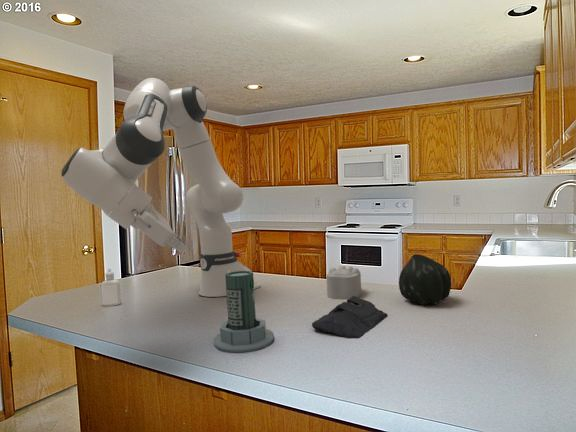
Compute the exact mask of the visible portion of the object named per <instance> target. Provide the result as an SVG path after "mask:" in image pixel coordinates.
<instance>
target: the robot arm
mask: <svg viewBox="0 0 576 432" xmlns="http://www.w3.org/2000/svg"><path fill="white" fill-rule="evenodd" d="M207 110H208V105H207V100H206V98H205V96H204V94H203V92H202V90H201V89H200V88H198V87H197V86H195V85H184V86H182V87H180V88H174V89H173V88H172V89H170V86H168V84H167V83H166V82H164V81H163V80H162V79H159V78H158V77H157V78H155V77H148V78H144V80H142V81H140V82H139V83H138V84H137V85H136V86H135V87H134V88H133V90H132V91H131V92H130V94H129V96H128V97H127V100H126V102H125V104H124V107H123V112H122V113H123V114H122V115H123V119H124V121H123V122H121V125H120V126H119V127H118V129H117V131H116V133H114V136H113V137H112V138H111V139H110V141H108V143H107V145H106V146H105V147H102V148H100V149H94V150H90V149H89V150H88V149H86V148H84V147H79V148H77V149H76V150H74V151H73V154H72V155H71V156H69V157H70V158H69V159H68V160H67V162H66V163H65V164H64V166H63V167H62V169H61V179H62V180H63V182H64V183H66V184H67V186H69V188H71V190H73V191H74V192H75V193H76V194H77V195H78V196H80V197H81V198H83V199H84V200H85V201H87V202H89V204H91V205H94V206H96V207H98V208H99V209H100V210H102V212H104V214H105V215H106V216H107V217H108V218H109V219H111V220H112V221H114V222H115V223H117V224H118V225H119V226H121V227H122V228H123V229H125V230H127V229H128V228H129V227H130V226H131V228H133V229H135V230H137V229H138V230H139V231H140V232H141V233H143V234H144V235H146V237H148V238H149V239H151V240H152V241H153V242H154V243H156V244H157V245H159V246H160V247H165V246H167V245H168V246H169V247H171V248H172V249H175V250H176V251H177V252H179V253H180V254H181V255H182V254H184V253H186V252H187V250H188V247H187V245H186V244H184V240H183V238H182V237H180V236H179V235H178V234H177V233H176V232H174V230H172V229H173V228H172V227H171V225H170V223H169V221H168V220H166V219H165V217H164V216H163V215H161V213H160V212H158V211H157V210H156V209H155V206H154V205H152V204H151V202H152V201H153V197H152V196H151V195H149V194H148V193H147V192H145V191H144V190H143V189H141V188H140V187H139V186H138V185H137V184H135V182H137V180H138V179H140V178H141V176H142V175H143V174H144V173H145V171H146V170H147V169H148V168H149V167H150V166H151V165H152V164H153V163H154V162H155V161H156V160H157V159H159V157H160V156H161V155H162V154H163V153H164V151H165V149H166V145H165V144H166V143H165V137H164V132H166V131H171V130H173V135H174V138H175V142H176V145H177V148H178V151H179V153H180V157H181V158H182V159H181V160H182V162H183V165H184V166H185V170H186V172H187V173H188V174H189V175H191V176H192V177H193V178H194V180H195V181H196V182H197V184H194V186H191V187H190V188H189V189H188V191H187V192H186V195H185V201H186V204H187V206H188V207H189V209H190V210H191V211H192V213H193V216H194V219H195V222H196V224H197V225H196V226H197V227H198V232H199V244H200V253H199V264H200V269H201V277H200V278H201V279H200V286H199V291H198V295H200V296H203V297H209V298H210V297H213V298H215V297H227V293H226V277H225V274H227V273H230V272H235V271H250V272H253V271H252V270H251V269H250V268H249V267H247V266H245V265H244V264H243V263H241V262H240V261H239V260H238V258H242V257H243V255H244V254H243V252H242V251H236V252H235V251H234V249H233V234H232V229H231V227H230V226H229V225H228V223H227V222H226V219H225V217H224V214H228V213H230V212H235V211H236V210H238V209H239V208H240V207H241V206H242V203H243V200H244V193H243V190H242V189H241V187H240V186H239V185H238V184H237V183H235V182H234V181H233V180H232V179H231V178H230V177H229V175H228V174H227V173H226V171H225V170H224V168H223V167H222V164H221V163H220V161H219V159H218V157H217V153H216V152H215V149H214V145H213V143H212V140H211V138H210V135H209V132H208V130H207V127H206V126H205V125H206V124H204V121H203V120H204V118H205V117H206V114H207ZM253 280H254V290H257V289H258V288H261V283H259V282H258V281H255V279H254V277H253Z"/></svg>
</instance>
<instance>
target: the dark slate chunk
mask: <svg viewBox="0 0 576 432" xmlns="http://www.w3.org/2000/svg"><path fill="white" fill-rule="evenodd" d="M388 316H389V315H388V314H387V313H386V312H384V311H383V310H381V309H378V308H377V307H376V305H375V304H373V302H371V301H369V300H365V299H363V298H361V297H356V296H352V297H351V298H350V299H346V301H343V302H341V303H339V304H337V305H336V306H335V307H334V308H332V309H331V310H330V311H329V312H328V313H327V314H324V315H322V317H320V318H318V319H316V320H315V321H313V322H312V323H311V326H312V328H313V329H314V330H316V331H321V332H326V333H331V334H333V335H336V336H341V337H343V338H347V339H361V338H362V337H363V336H365V334H367V333H368V332H370V331H371V330H373V329H374V328H375V327H377V326H378V325H379V324H380V323H381V322H382V321H383V320H385V319H386V318H387V317H388Z"/></svg>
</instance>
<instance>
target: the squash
mask: <svg viewBox="0 0 576 432" xmlns="http://www.w3.org/2000/svg"><path fill="white" fill-rule="evenodd" d="M412 254H413V253H412ZM398 278H399V279H398V288H399V291H400V294H401V297H403V298H404V299H406V300H407V301H409V302H410V303H413V304H421V305H424V306H425V305H428V304H430V305H437V304H439V303H440V302H441V301H443V300H446V299H447V298H448V297H449V296H450V293H451V287H452V278H451V274H450V272H449V270H448V269H447V268H446V267H445V265H443V264H441V263H439V262H438V261H436V260H435V259H432V258H430V257H428V256H426V255H422V254H418V253H414V254H413V255H411V257H410V258H409V260H408V261H407V263H406V264H405V265H404V266H403V268H402V270H401V272H400V275H399V277H398Z"/></svg>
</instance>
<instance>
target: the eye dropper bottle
mask: <svg viewBox="0 0 576 432" xmlns="http://www.w3.org/2000/svg"><path fill="white" fill-rule="evenodd" d="M100 286H101V287H100V288H101V291H100V292H101V300H102V301H101V302H102V306H104V307H114V306H118V305H120V304H121V303H122V297H121V296H122V295H121V294H122V293H121V283H120V281H119V280H118V279H116V278H115V275H114V272H113V271H112V269H111V268H108V269H107V272H106V273H105V279H104V281H102V282H101V284H100Z"/></svg>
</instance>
